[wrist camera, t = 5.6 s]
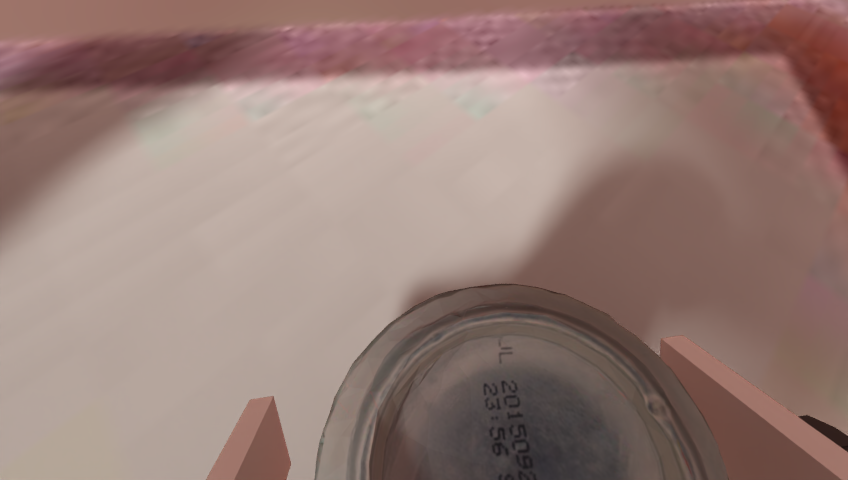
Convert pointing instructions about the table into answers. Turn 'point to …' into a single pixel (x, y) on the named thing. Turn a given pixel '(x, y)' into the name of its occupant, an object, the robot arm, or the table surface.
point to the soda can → (513, 398)
